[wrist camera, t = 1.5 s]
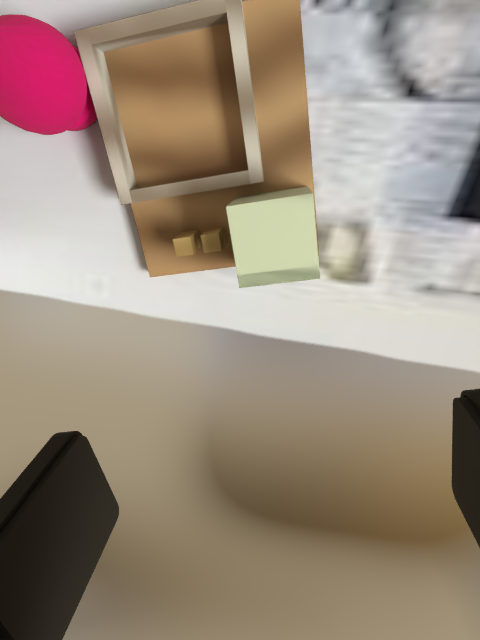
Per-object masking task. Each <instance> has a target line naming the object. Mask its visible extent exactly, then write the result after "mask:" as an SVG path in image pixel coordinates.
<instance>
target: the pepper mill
mask: <svg viewBox="0 0 480 640" xmlns="http://www.w3.org/2000/svg"><path fill="white" fill-rule="evenodd" d="M0 116H1V117H2V118H4V119H5V120H7V121H8V122H10V123H12V124H14V125H16V126H18V127H20V128H22V129H24V130H26V131H30V132H34V133H39V134H43V135H52V134H58V133H61V132H64V131H66V130H69V131H79V130H82V129H85V128H87V127H89V126H90V125H91V124H93V123H94V122H95V121H96V119H97V115H96V111H95V107H94V104H93V100H92V96H91V93H90V89H89V85H88V82H87V78H86V74H85V71H84V67H83V63H82V60H81V56H80V52H79V49H78V48H77V47H75V46H73V45H71V43H70V42H69V41H68V40H67V39H66V38H65V37H64V36H63V35H62V34H61V33H60V32H59V31H58V30H57V29H55V28H54V27H52V26H51V25H49V24H47V23H45V22H42V21H40V20H38V19H35V18H32V17H29V16H26V15H2V16H0Z"/></svg>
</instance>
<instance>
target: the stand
mask: <svg viewBox="0 0 480 640" xmlns="http://www.w3.org/2000/svg"><path fill="white" fill-rule="evenodd" d="M74 34H75V38H76V41H77V45H78V49H79V52H80V56H81V60H82V63H83V67H84V71H85V74H86V78H87V82H88V85H89V89H90V93H91V96H92V100H93V104H94V107H95V111H96V115H97V118H98V122H99V126H100V129H101V133H102V136H103V140H104V144H105V147H106V151H107V155H108V158H109V162H110V166H111V169H112V173H113V177H114V180H115V184H116V188H117V191H118V195H119V199H120V202H121V205H123V204H129V203H131V207H132V211H133V214H134V218H135V222H136V226H137V230H138V233H139V237H140V241H141V245H142V249H143V252H144V256H145V260H146V264H147V268H148V271H149V275H150V277H156V276H164V275H172V274H180V273H188V272H196V271H204V270H212V269H219V268H227V267H235V266H236V264H235V258H234V252H233V246H232V240H231V234H230V228H229V222H228V216H227V210H226V206H227V205H228V204H230V203H231V202H232V201H233V200H234V199H235V198H237V197H243V196H249V195H255V194H262V193H268V192H274V191H281V190H287V189H294V188H300V187H306V186H308V187H309V189H310V190H311V191H312V192H313V196H314V184H313V171H312V157H311V144H310V131H309V117H308V104H307V90H306V77H305V64H304V50H303V37H302V24H301V10H300V0H247V1H243V2H242V0H197V1H193V2H189V3H185V4H181V5H177V6H173V7H169V8H165V9H161V10H157V11H153V12H149V13H145V14H141V15H137V16H133V17H129V18H125V19H121V20H117V21H113V22H109V23H105V24H101V25H97V26H93V27H89V28H85V29H81V30H77V31H74ZM314 209H315V197H314ZM315 222H316V211H315ZM316 235H317V224H316ZM317 249H318V237H317ZM318 256H319V251H318Z"/></svg>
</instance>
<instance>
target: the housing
mask: <svg viewBox="0 0 480 640" xmlns="http://www.w3.org/2000/svg"><path fill="white" fill-rule="evenodd" d="M226 210H227V216H228V222H229V228H230V234H231V240H232V246H233V252H234V258H235V264H236V270H237V276H238V282H239V288H243V287H251V286H260V285H268V284H277V283H285V282H294V281H302V280H311V279H320V275H319V262H318V249H317V235H316V222H315V209H314V196H313V192H312V191H311V190H310V189H309V187H308V186H306V187H300V188H294V189H287V190H281V191H274V192H268V193H262V194H255V195H249V196H243V197H237V198H235V199H234V200H233V201H232V202H231V203H230V204H228V205H227V206H226Z"/></svg>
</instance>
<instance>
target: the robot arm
mask: <svg viewBox="0 0 480 640" xmlns="http://www.w3.org/2000/svg"><path fill="white" fill-rule="evenodd" d="M452 434H453V435H452V439H453V440H452V489H453V493H454V496H455V499H456V501H457V503H458V505H459V507H460V509H461V511H462V513H463V515H464V517H465V519H466V521H467V523H468V525H469V527H470V529H471V531H472V533H473V535H474V537H475V539H476V541H477V543H478V545H479V547H480V389H475V390H465V391H463V392H462V393H461V397H460V398H454V400H453V433H452ZM118 515H119V506H118V503H117V501H116V499H115V497H114V495H113V493H112V490H111V489H110V486H109V484H108V482H107V480H106V478H105V475H104V473H103V471H102V469H101V467H100V465H99V463H98V461H97V458H96V456H95V454H94V452H93V450H92V448H91V445H90V443H89V441H88V439H87V438H86V437H85V436H83V435H82V434H81V433H80V432H78V431H71V432H61V433H56V434H54V435H53V436H52V437H51V438H50V440H49V441H48V442H47V443H46V444H45V446H44V447H43V448H42V449H41V451H40V452H39V453H38V454H37V455H36V457H35V458H34V459H33V460H32V461H31V463H30V464H29V465H28V466H27V467H26V469H25V470H24V471H23V472H22V473H21V475H20V476H19V477H18V478H17V480H16V481H15V482H14V483H13V484H12V486H11V487H10V488H9V489H8V490H7V492H6V493H5V494H4V495H3V496H2V498H1V499H0V640H62V639H63V637H64V635H65V632H66V630H67V628H68V626H69V624H70V621H71V619H72V617H73V615H74V613H75V611H76V608H77V606H78V604H79V602H80V600H81V597H82V595H83V593H84V591H85V589H86V586H87V584H88V582H89V580H90V578H91V576H92V573H93V571H94V569H95V567H96V565H97V562H98V560H99V558H100V556H101V554H102V552H103V549H104V547H105V545H106V543H107V541H108V539H109V536H110V534H111V532H112V530H113V527H114V525H115V523H116V521H117V519H118Z"/></svg>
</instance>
